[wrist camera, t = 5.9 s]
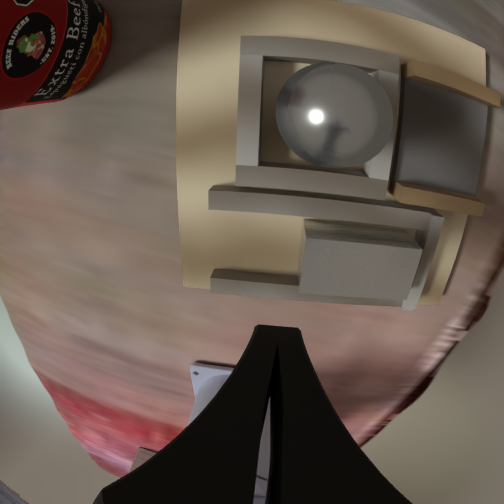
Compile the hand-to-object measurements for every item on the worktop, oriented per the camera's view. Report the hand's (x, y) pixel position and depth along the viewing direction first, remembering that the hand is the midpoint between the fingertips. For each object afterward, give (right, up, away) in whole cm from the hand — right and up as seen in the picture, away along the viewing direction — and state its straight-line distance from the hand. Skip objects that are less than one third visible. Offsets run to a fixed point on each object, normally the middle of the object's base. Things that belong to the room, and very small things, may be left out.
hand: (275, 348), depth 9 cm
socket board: (+4, +8, +5) cm, 11 cm away
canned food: (-13, +16, +4) cm, 21 cm away
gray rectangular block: (+5, +3, +7) cm, 9 cm away
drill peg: (+2, +10, +4) cm, 11 cm away
